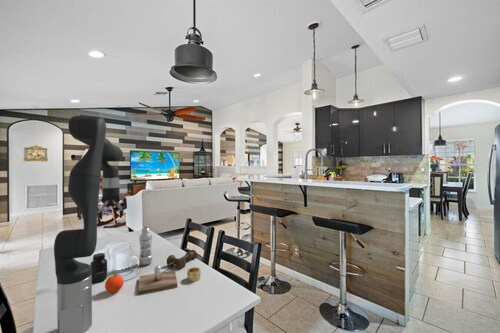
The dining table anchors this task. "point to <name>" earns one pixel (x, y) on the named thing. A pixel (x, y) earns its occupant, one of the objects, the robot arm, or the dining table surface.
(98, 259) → the supplement bottle
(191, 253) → the kendama
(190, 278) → the brass ring
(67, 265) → the robot arm
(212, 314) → the dining table surface
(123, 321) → the dining table surface
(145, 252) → the plastic bottle
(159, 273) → the steel post
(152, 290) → the walnut base plate
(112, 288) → the clementine
